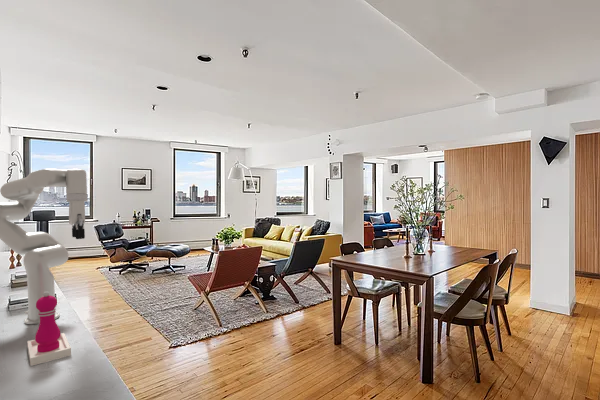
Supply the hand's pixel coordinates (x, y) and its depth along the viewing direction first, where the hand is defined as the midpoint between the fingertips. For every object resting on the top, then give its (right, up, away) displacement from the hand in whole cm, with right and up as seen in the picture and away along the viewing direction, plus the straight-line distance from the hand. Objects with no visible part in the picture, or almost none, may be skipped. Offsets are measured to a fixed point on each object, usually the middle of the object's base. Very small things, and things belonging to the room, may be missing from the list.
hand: (78, 237), depth 151 cm
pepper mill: (+8, -36, -28) cm, 46 cm away
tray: (+8, -37, -29) cm, 47 cm away
